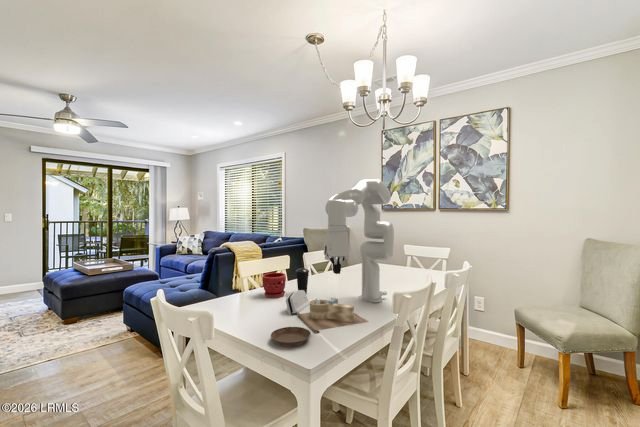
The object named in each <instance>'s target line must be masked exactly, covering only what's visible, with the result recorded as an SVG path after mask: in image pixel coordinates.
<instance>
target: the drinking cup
mask: <svg viewBox="0 0 640 427" xmlns="http://www.w3.org/2000/svg"><path fill="white" fill-rule="evenodd" d="M295 272H296V283H297V290H304V291H305V293H306V295H307V294H308V293H307V292H308V286H309V285H308V283H309V272H310V269H307V268H305V267H304V259H302V260H301V267H300V268H298V269H296V270H295Z"/></svg>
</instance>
